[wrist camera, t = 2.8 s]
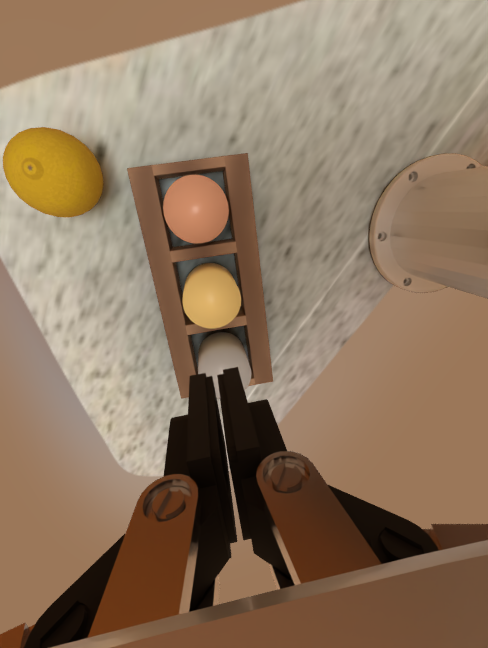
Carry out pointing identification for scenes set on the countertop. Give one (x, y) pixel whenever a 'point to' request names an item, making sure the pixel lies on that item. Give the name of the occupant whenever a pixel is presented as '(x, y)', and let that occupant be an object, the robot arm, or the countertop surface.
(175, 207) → the pink cylinder
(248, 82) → the countertop surface
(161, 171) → the wooden compartment tray
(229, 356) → the grey short rounded cylinder
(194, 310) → the yellow short cylinder
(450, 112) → the countertop surface
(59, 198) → the lemon
